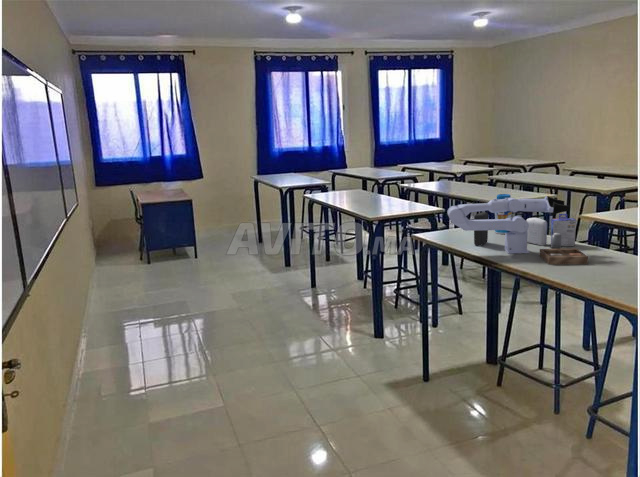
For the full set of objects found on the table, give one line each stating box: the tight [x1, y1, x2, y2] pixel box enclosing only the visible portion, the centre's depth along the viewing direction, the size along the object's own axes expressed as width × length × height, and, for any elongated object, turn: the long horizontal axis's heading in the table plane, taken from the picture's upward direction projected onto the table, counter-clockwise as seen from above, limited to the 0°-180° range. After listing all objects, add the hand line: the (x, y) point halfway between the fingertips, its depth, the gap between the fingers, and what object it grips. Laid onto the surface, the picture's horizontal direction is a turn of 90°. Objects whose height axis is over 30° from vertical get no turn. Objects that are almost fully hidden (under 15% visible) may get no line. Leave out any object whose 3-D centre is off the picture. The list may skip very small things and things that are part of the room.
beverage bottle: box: [494, 193, 513, 235], centre depth 273 cm, size 8×8×20 cm
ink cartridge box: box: [550, 213, 577, 247], centre depth 242 cm, size 10×6×14 cm, turn 78°
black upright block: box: [473, 211, 489, 246], centre depth 253 cm, size 9×4×15 cm, turn 141°
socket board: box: [539, 247, 589, 265], centre depth 221 cm, size 15×14×3 cm
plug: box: [550, 233, 562, 249], centre depth 231 cm, size 4×4×9 cm
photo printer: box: [526, 217, 548, 247], centre depth 248 cm, size 10×4×12 cm, turn 31°
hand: (566, 205), depth 230 cm, fingers open, 7 cm apart
